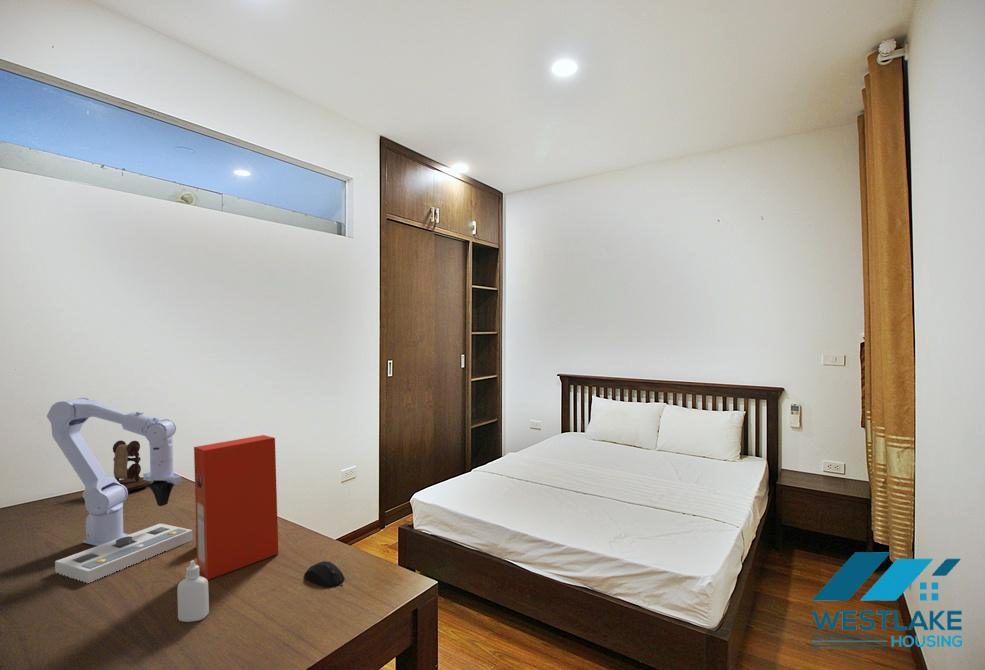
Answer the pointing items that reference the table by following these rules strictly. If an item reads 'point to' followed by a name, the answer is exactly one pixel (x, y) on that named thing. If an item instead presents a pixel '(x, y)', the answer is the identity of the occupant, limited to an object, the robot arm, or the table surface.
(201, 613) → the eye dropper bottle
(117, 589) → the table surface
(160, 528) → the button
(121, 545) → the button middle
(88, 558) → the button
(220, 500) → the file binder
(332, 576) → the gaming mouse
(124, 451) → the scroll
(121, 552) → the button board
